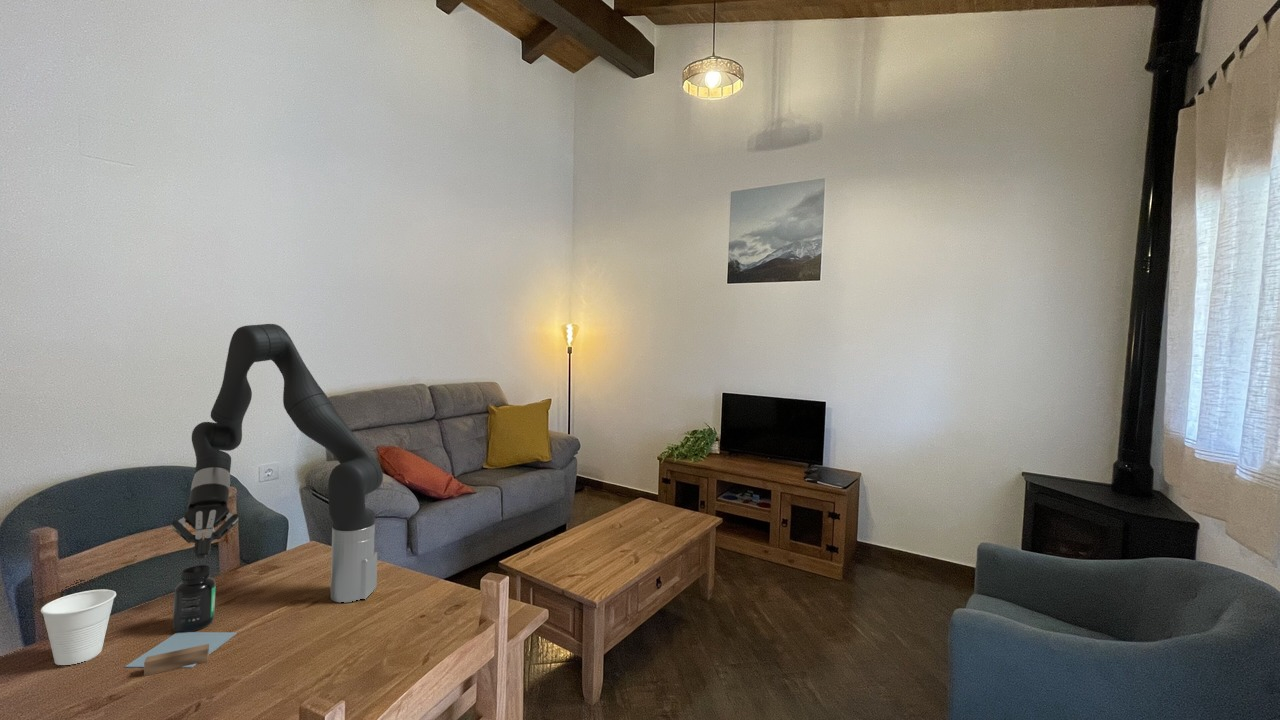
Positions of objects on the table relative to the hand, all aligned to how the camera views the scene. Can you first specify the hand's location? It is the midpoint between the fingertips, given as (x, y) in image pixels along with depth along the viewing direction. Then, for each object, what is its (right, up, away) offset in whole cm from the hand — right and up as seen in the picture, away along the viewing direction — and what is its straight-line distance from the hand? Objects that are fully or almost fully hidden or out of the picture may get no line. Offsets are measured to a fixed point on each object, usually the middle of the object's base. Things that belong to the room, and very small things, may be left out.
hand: (201, 556), depth 121 cm
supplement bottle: (+5, -12, -8) cm, 15 cm away
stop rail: (+13, -13, -22) cm, 28 cm away
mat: (+10, -12, -16) cm, 23 cm away
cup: (-7, -12, -20) cm, 24 cm away
